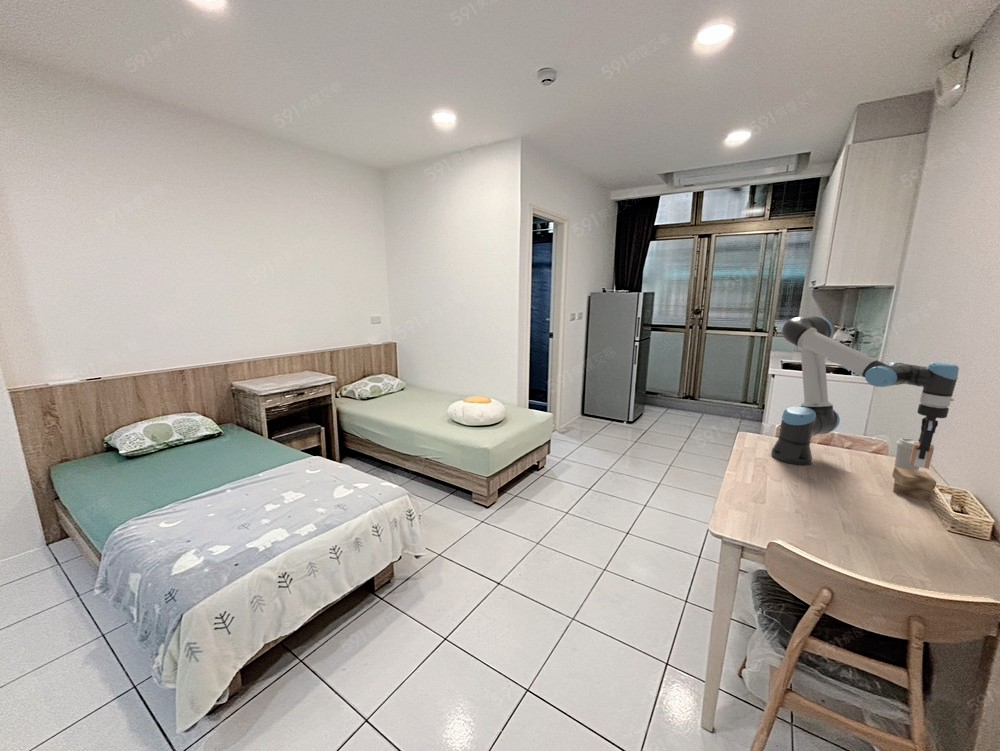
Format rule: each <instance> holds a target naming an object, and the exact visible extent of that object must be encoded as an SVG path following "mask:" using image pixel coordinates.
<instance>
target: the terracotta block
mask: <svg viewBox="0 0 1000 751" xmlns="http://www.w3.org/2000/svg"><path fill="white" fill-rule="evenodd" d="M919 446H920V442H914V445H913V449H912V453H911V457H910V465H913V466H914V462H915V459H916V455H917V451H918V450H917V449H916V448H919ZM934 450H935V446H934V444H931V445H930V451H928V455H927V459H926V463H925V467H924V468H923V467H921V469H927V470H929V469H930V465H931V462H932V457H933V455H934Z"/></svg>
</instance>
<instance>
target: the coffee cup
mask: <svg viewBox="0 0 1000 751" xmlns="http://www.w3.org/2000/svg"><path fill="white" fill-rule="evenodd" d="M918 440H919V439H916V438H911V437H910V438H909V437H900V438H899V439H898V440H896V442H895V444H896V451H895V452H896V454H895V460H894V467H899V468H905V469H911V470H917V471H920V470H919V469H920V467H918V466H913V465H910V457H911V453H912V449H913V445H914V442H919V441H918Z"/></svg>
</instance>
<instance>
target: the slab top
mask: <svg viewBox="0 0 1000 751" xmlns="http://www.w3.org/2000/svg"><path fill="white" fill-rule="evenodd" d="M892 478H893V479H894V481H895V480H896V481H897V482H898V483H899V484H900V485H901V486H906V487H911V488H917V489H922V490H928V491H931V492H934V491H933V489H934V488H935V489H936V485H937V480H935V479H934V478H933V477H932V476H931V475H930V474H928V472H926V471H923V470H918V471H917V470H911V469H905V468H899V467H895V466H894V469H893V471H892ZM935 489H934V490H935Z"/></svg>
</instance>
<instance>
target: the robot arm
mask: <svg viewBox="0 0 1000 751" xmlns="http://www.w3.org/2000/svg"><path fill="white" fill-rule="evenodd" d="M781 330H782V331H781V332H782V333H781V334H782V336H783V338H784V339H785V340H786V341H787V342H789V343H791V344H793V346H796V348H797V349H799V350H800V357H801V358H800V359H801V370H802V371H801V372H802V384H803V385H802V386H803V399H804V401H803V402H802V403H801V404H800V406H790V407H787V408H785V409H784V410H783V412H782V415H781V423H780V429H779V434H778V435H779V436H778V439H777V440H776V442H775V444H774V445H773V447H772V449H771V451H770V452H771V453H770V455H771V456H772V457H773V458H774V459H776V460H778V461H780V462H783V463H787V464H790V465H797V466H808V465H812V461H813V455H812V450H811V445H810V444H811V442H812V436H817V435H825V434H826V435H827V434H829V433H831V432H833V431H834V430H836V429H837V428H838V426H840V416H839V412H836V410H834V405H833V403H832V402H830V401H829V399H828V398H829V395H828V383H827V381H828V380H827V370H826V368H827V367H826V359H828V360H829V361H831V362H833V363H835V364H837V365H839V366H841V367H843V368H845V369H847V370H848V371H851V372H853V373H855V374H856V375H859V376H861V377H862V378H864V379H865V381H866V382H867V383H868V384H869V385H870V386H873V387H876V388H877V387H880V388H884V387H886V388H887V387H891V386H898V385H910V386H914V387H915V386H916V387H922V392H921V395H920V399H919V405H918V407H917V411H916V413H918V414H919V415H921V416H924V417H923V418H921V426H920V435H919V439H917V440H918V441H919V442H920V446H919V448H916V449H917V450H918V451H917V455H916V459H915V462H914V466H918V467H919V468H922V467H923V468H922V469H925V468H924V467H925V463H926V459H927V455H928V451H930V445H932V444H931V443H932V440H933V437H934V434H935V433H936V429H937V427H938V425H939V422H938V420H936V419H946V418H947V417H948V413H949V410H950V408H949V407H950V406H951V402H954V401H955V400H954V398H953V393H954V391H955V387H956V384H957V381H958V376H959V372H960V371H959V370H960V368H959V366H958V365H956V364H953V363H946V362H944V363H943V362H930V363H929V364H928V366H921V365H915V364H908V363H903V362H889V363H887V364H886V363H884V362H882V361H879V360H878V359H875V358H874V357H872V356H869V355H867V354H865V353H863V352H861V351H859V350H856V349H854V348H852V347H850V346H848V345H846V344H844V343H843V342H842V343H841V342H839V341H837V340H835V339H833V338H831V336H832V335H833V332H834V327H833V324H832V322H831V321H830V320H828V319H827V318H825V317H822V316H815V315H814V316H797V317H796V316H795V317H792V318H790V319H789V320H787V321H786V322H785V323H784V324H783V327H782V328H781Z"/></svg>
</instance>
